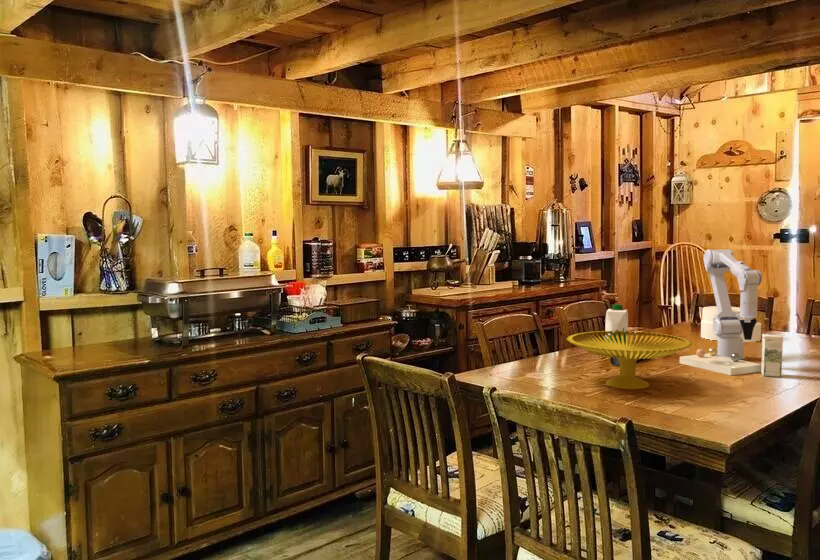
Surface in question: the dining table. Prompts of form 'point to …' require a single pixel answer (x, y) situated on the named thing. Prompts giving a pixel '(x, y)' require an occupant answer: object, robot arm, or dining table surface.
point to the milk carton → (616, 321)
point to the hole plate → (720, 364)
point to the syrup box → (771, 355)
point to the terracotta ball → (700, 352)
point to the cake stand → (628, 352)
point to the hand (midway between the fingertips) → (747, 339)
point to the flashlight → (616, 361)
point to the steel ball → (735, 357)
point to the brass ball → (712, 351)
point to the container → (707, 325)
